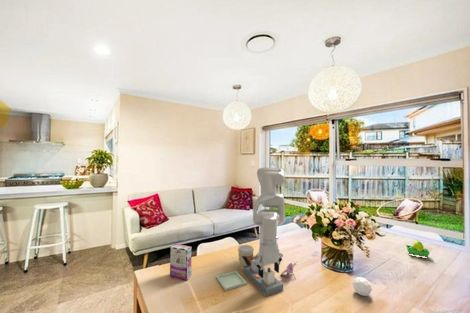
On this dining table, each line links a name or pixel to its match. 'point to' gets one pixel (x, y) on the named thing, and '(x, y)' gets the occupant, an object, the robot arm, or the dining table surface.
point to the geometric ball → (362, 286)
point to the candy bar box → (180, 261)
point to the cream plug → (268, 277)
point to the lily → (289, 268)
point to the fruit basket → (418, 249)
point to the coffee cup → (245, 256)
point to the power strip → (260, 284)
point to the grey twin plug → (254, 266)
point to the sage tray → (231, 280)
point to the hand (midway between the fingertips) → (268, 273)
